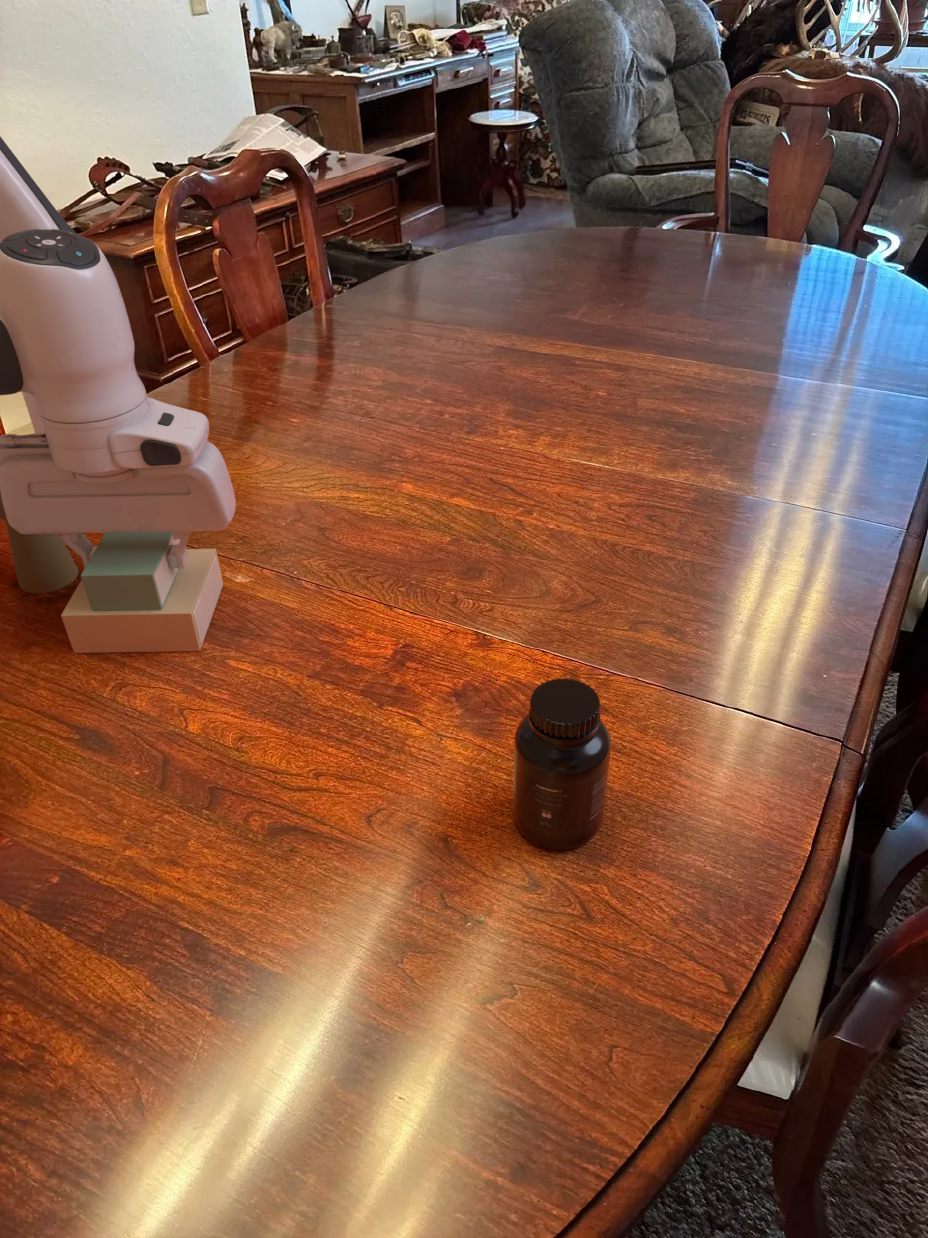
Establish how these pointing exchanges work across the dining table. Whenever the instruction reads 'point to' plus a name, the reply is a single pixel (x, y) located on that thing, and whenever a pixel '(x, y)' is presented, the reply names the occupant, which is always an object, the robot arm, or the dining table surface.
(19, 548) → the olive pawn piece
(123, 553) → the sage green brick
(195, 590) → the tan flat block
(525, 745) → the supplement bottle
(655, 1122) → the dining table surface
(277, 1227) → the dining table surface
